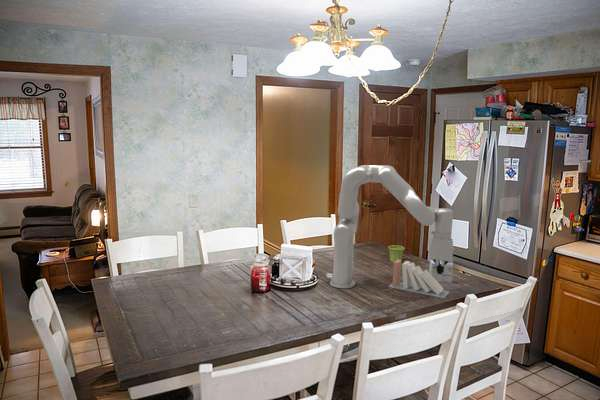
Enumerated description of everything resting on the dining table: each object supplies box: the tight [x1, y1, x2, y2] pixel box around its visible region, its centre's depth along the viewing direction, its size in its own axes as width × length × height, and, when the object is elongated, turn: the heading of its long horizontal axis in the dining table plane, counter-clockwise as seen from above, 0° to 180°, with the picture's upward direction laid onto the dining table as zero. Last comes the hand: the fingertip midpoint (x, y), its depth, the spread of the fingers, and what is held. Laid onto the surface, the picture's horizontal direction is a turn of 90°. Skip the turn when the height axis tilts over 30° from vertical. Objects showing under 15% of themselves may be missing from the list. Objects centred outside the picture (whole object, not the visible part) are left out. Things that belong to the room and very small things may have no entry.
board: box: [388, 281, 450, 299], centre depth 216 cm, size 27×10×1 cm, turn 59°
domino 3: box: [406, 262, 422, 291], centre depth 216 cm, size 2×6×12 cm, turn 149°
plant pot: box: [388, 244, 405, 264], centre depth 264 cm, size 9×9×9 cm
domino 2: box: [401, 260, 412, 289], centre depth 218 cm, size 2×6×12 cm, turn 149°
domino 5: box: [420, 269, 444, 295], centre depth 212 cm, size 2×6×12 cm
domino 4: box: [412, 265, 432, 292], centre depth 214 cm, size 2×6×12 cm
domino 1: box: [391, 259, 402, 287], centre depth 221 cm, size 2×6×12 cm, turn 150°
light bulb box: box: [428, 259, 454, 283], centre depth 230 cm, size 11×7×11 cm, turn 84°
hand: (439, 273), depth 210 cm, fingers closed
